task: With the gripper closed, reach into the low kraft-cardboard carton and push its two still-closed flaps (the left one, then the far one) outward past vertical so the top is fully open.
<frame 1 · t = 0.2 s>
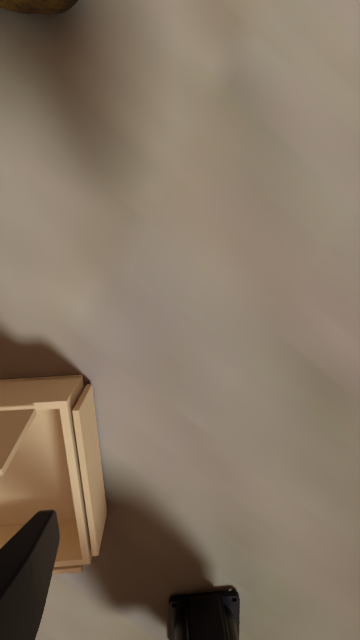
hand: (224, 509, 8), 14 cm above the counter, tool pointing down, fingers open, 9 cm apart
carton: (7, 456, 24), on the counter
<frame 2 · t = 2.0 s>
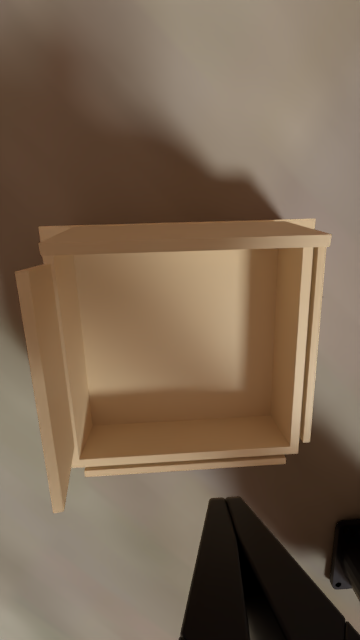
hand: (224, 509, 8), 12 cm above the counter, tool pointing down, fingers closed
carton: (179, 332, 19), on the counter
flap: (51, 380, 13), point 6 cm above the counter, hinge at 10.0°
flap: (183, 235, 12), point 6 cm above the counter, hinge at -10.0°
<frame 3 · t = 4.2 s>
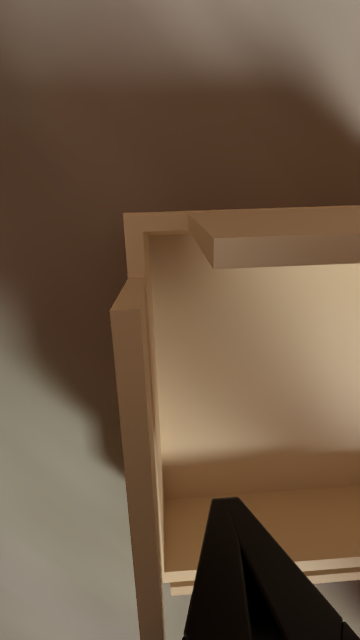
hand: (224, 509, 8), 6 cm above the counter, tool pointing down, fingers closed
carton: (291, 369, 14), on the counter
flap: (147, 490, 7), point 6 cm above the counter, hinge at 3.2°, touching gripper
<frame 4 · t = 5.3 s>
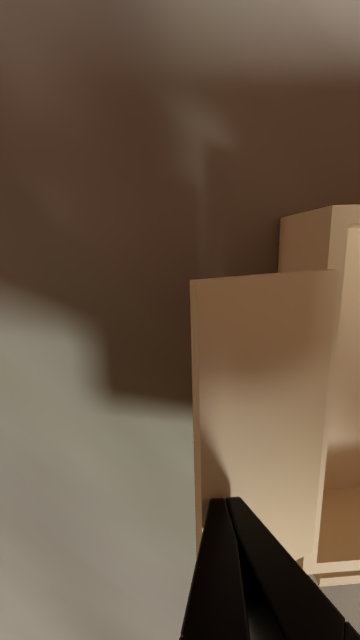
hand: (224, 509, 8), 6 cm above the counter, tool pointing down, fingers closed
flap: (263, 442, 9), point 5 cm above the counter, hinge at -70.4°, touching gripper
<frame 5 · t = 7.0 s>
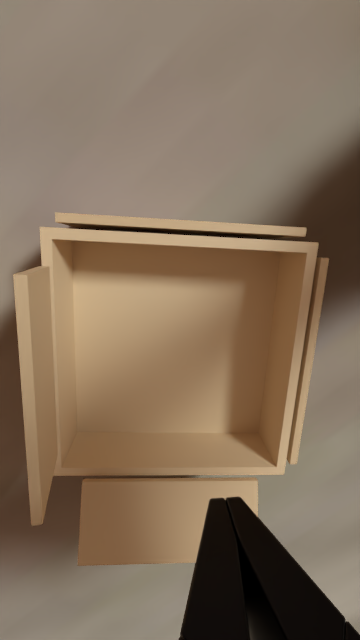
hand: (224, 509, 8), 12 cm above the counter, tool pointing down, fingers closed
carton: (173, 343, 19), on the counter
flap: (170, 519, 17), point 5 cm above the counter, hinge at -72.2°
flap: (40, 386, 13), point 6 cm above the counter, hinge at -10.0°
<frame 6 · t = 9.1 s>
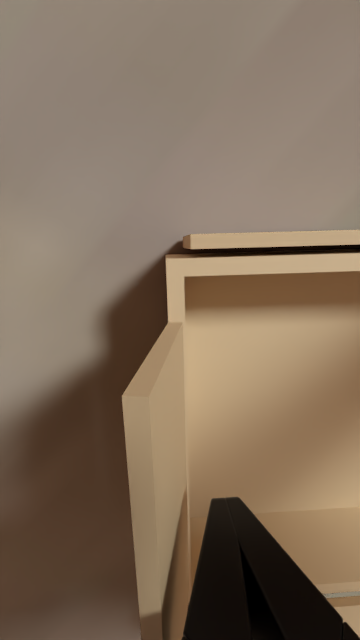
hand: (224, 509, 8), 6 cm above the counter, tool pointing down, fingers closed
carton: (311, 394, 14), on the counter
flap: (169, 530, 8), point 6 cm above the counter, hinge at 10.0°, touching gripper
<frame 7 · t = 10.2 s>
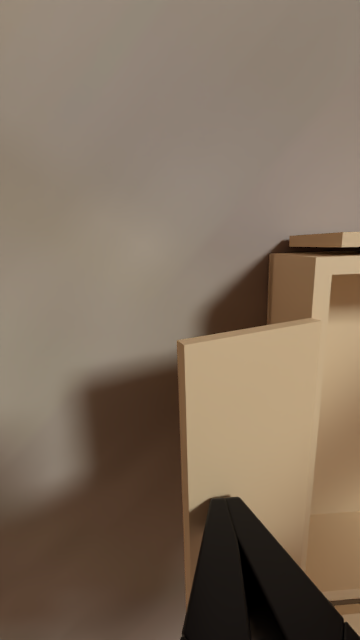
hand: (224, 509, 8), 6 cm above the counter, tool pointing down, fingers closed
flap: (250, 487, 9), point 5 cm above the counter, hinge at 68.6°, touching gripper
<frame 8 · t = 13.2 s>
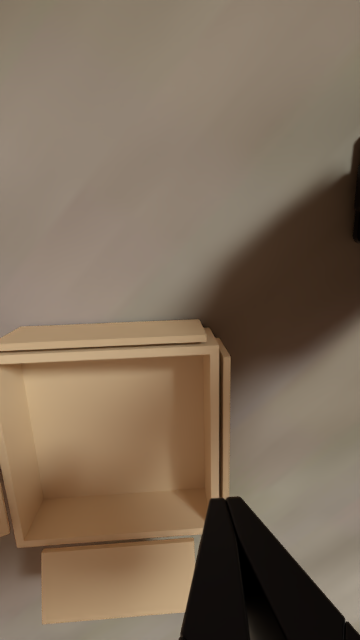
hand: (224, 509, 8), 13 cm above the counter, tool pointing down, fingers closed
carton: (119, 418, 22), on the counter
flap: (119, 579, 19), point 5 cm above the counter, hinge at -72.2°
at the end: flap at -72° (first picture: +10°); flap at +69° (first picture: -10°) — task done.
